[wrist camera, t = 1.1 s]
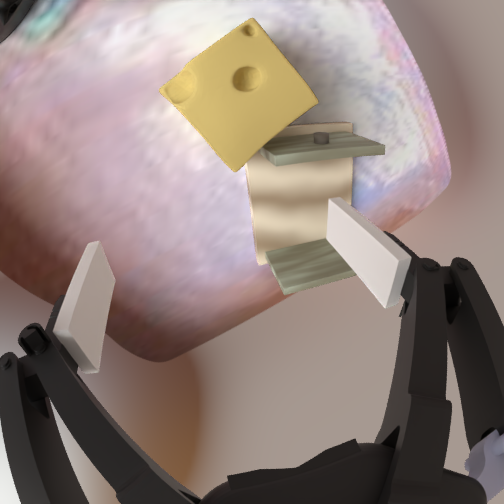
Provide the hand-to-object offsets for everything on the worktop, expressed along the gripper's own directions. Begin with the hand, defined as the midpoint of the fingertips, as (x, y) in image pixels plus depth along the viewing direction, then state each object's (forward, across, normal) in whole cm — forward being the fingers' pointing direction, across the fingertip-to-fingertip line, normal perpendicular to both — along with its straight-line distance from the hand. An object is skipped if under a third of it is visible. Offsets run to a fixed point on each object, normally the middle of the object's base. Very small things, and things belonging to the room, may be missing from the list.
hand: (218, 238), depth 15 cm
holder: (+19, +13, -6) cm, 24 cm away
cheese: (+20, +4, +7) cm, 21 cm away
